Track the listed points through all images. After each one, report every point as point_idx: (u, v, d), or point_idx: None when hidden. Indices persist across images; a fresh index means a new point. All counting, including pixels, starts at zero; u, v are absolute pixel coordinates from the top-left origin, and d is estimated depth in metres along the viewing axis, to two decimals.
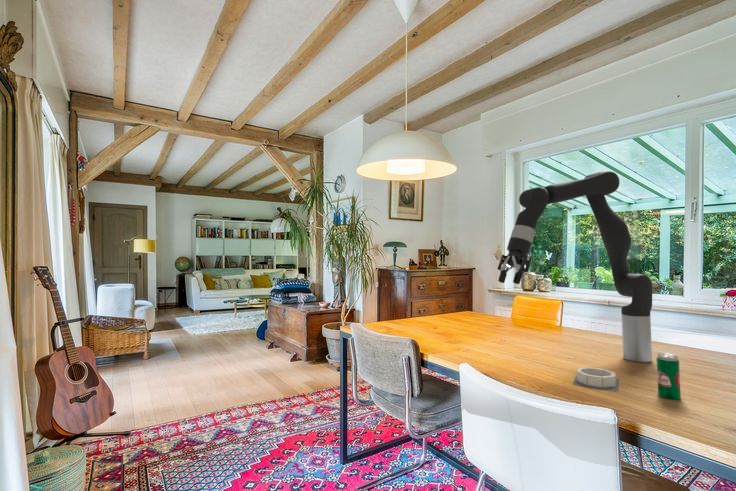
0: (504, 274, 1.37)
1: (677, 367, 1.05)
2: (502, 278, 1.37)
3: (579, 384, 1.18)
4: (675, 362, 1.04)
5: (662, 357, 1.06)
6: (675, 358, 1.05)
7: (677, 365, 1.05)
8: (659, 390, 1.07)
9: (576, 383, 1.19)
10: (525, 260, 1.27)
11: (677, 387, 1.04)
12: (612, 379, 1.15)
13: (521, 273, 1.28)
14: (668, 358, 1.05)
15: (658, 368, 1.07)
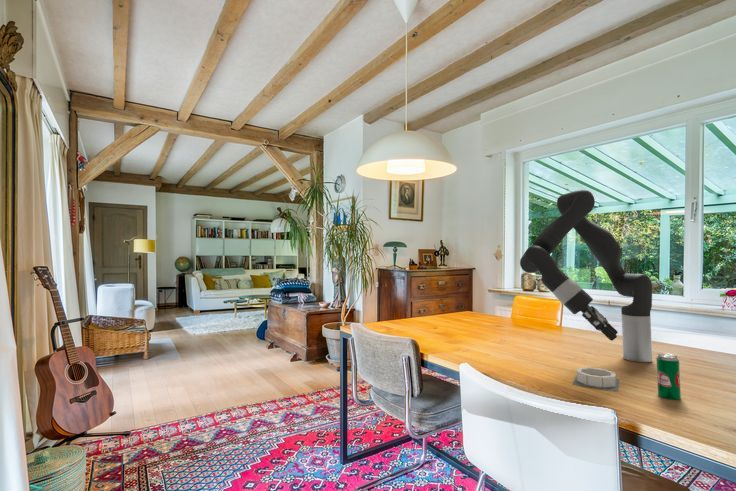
0: (607, 326, 1.19)
1: (677, 367, 1.05)
2: (611, 331, 1.18)
3: (579, 384, 1.18)
4: (675, 362, 1.04)
5: (662, 357, 1.06)
6: (675, 358, 1.05)
7: (677, 365, 1.05)
8: (659, 390, 1.07)
9: (576, 383, 1.19)
10: (588, 320, 1.12)
11: (677, 387, 1.04)
12: (612, 379, 1.15)
13: (604, 328, 1.11)
14: (668, 358, 1.05)
15: (658, 368, 1.07)
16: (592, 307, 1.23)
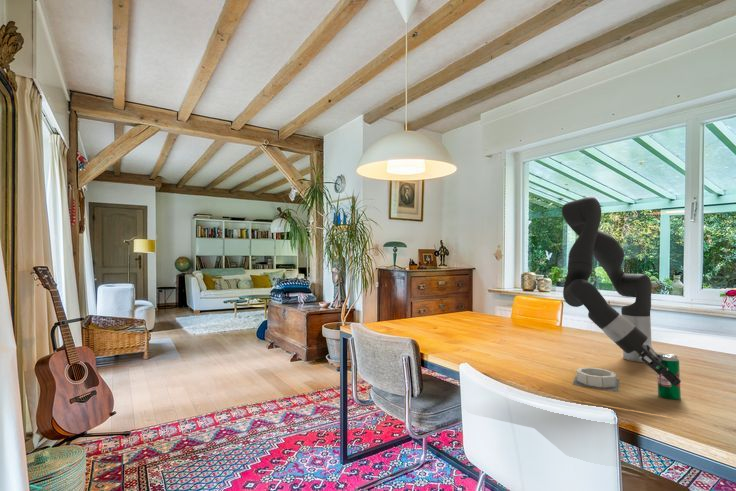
0: None
1: (677, 367, 1.05)
2: None
3: (579, 384, 1.18)
4: (675, 362, 1.04)
5: (662, 357, 1.06)
6: (675, 358, 1.05)
7: (677, 365, 1.05)
8: (659, 390, 1.07)
9: (576, 383, 1.19)
10: (649, 365, 1.04)
11: (677, 387, 1.04)
12: (612, 379, 1.15)
13: (666, 373, 1.04)
14: (668, 358, 1.05)
15: (658, 368, 1.07)
16: (647, 346, 1.14)
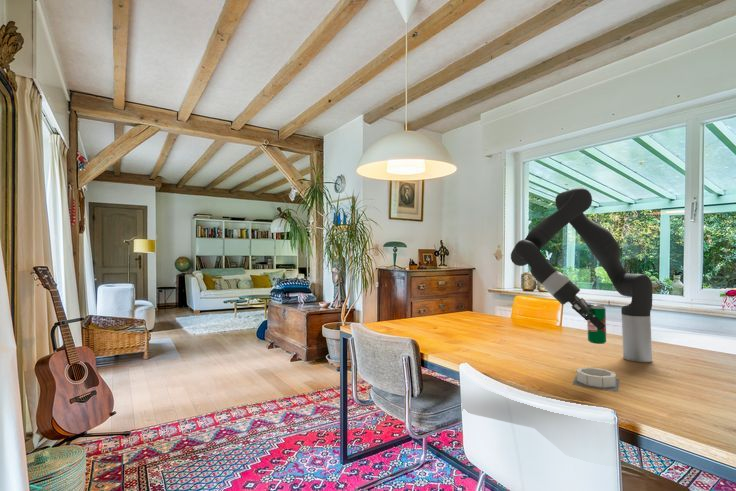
0: None
1: (603, 314, 1.18)
2: None
3: (579, 384, 1.18)
4: (601, 309, 1.18)
5: (591, 306, 1.20)
6: (601, 306, 1.18)
7: (603, 312, 1.18)
8: (588, 335, 1.20)
9: (576, 383, 1.19)
10: (578, 312, 1.18)
11: (603, 331, 1.18)
12: (612, 379, 1.15)
13: (592, 319, 1.17)
14: (595, 306, 1.19)
15: None
16: None
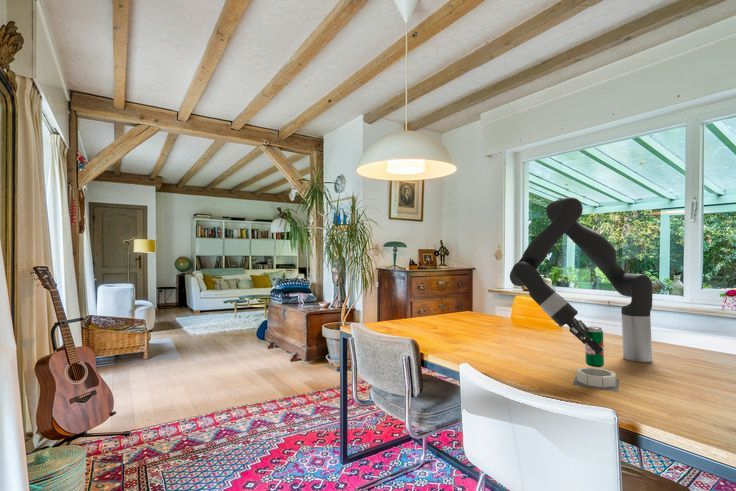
0: None
1: (600, 337, 1.18)
2: None
3: (579, 384, 1.18)
4: (599, 333, 1.18)
5: (588, 329, 1.20)
6: (599, 329, 1.19)
7: (600, 336, 1.18)
8: (586, 358, 1.21)
9: (576, 383, 1.19)
10: (576, 335, 1.18)
11: (601, 355, 1.18)
12: (612, 379, 1.15)
13: (590, 342, 1.18)
14: (593, 329, 1.19)
15: None
16: (580, 321, 1.28)
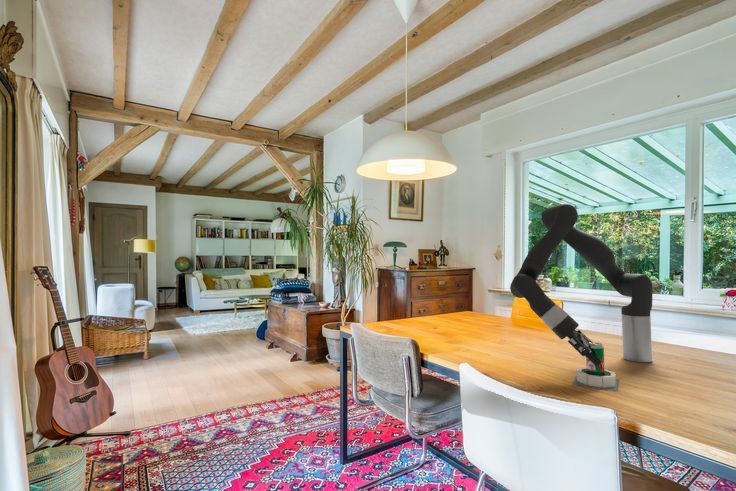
0: None
1: (601, 354, 1.18)
2: None
3: (579, 384, 1.18)
4: (600, 349, 1.18)
5: (589, 345, 1.20)
6: (600, 346, 1.19)
7: (601, 352, 1.18)
8: None
9: (576, 383, 1.19)
10: (574, 346, 1.18)
11: (601, 371, 1.18)
12: (612, 379, 1.15)
13: (589, 354, 1.17)
14: (594, 346, 1.19)
15: None
16: (579, 331, 1.28)
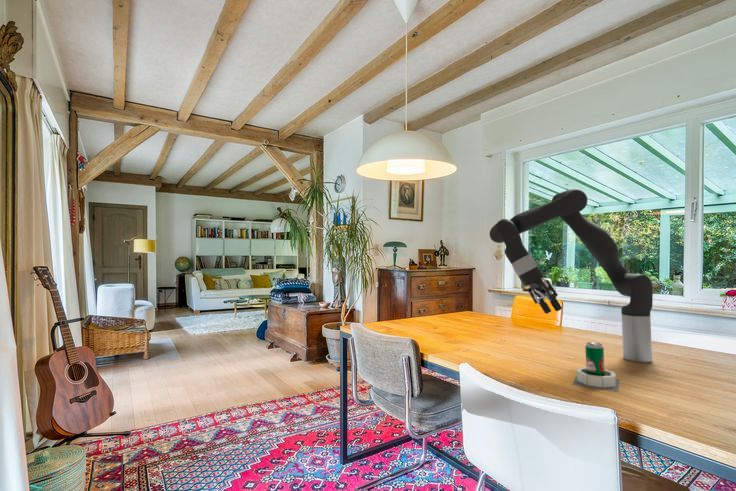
0: (544, 304, 1.34)
1: (601, 354, 1.18)
2: (546, 309, 1.34)
3: (579, 384, 1.18)
4: (600, 349, 1.18)
5: (589, 345, 1.20)
6: (599, 346, 1.19)
7: (601, 352, 1.18)
8: None
9: (576, 383, 1.19)
10: (546, 288, 1.25)
11: (601, 371, 1.18)
12: (612, 379, 1.15)
13: (554, 299, 1.25)
14: (593, 346, 1.19)
15: (586, 355, 1.21)
16: None
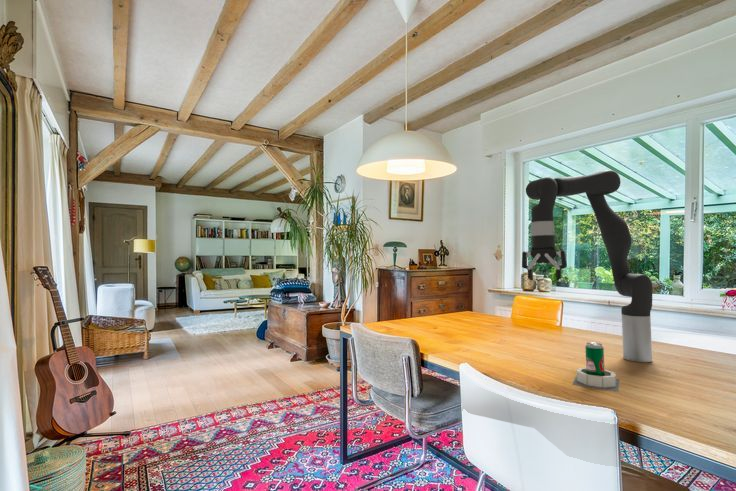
0: (532, 271, 1.36)
1: (601, 354, 1.18)
2: (532, 276, 1.36)
3: (579, 384, 1.18)
4: (600, 349, 1.18)
5: (589, 345, 1.20)
6: (600, 346, 1.19)
7: (601, 352, 1.18)
8: None
9: (576, 383, 1.19)
10: (565, 257, 1.29)
11: (601, 371, 1.18)
12: (612, 379, 1.15)
13: None
14: (593, 346, 1.19)
15: (586, 355, 1.21)
16: None
